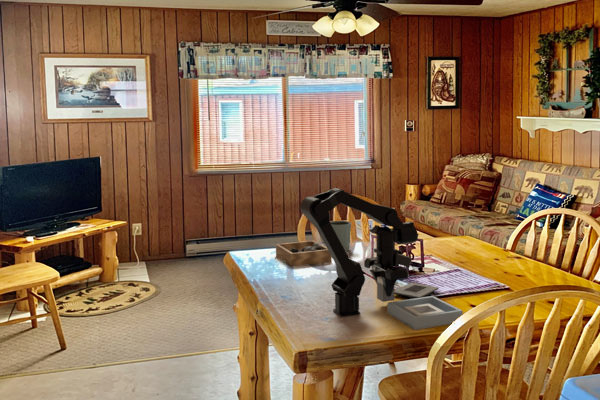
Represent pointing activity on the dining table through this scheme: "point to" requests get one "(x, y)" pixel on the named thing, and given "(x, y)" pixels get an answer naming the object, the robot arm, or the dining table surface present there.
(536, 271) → the dining table surface
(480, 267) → the dining table surface
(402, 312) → the walled box
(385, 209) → the robot arm
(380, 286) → the plug
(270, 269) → the dining table surface
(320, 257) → the wooden tray
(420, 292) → the grey rectangular plate
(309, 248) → the bison figurine
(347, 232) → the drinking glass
